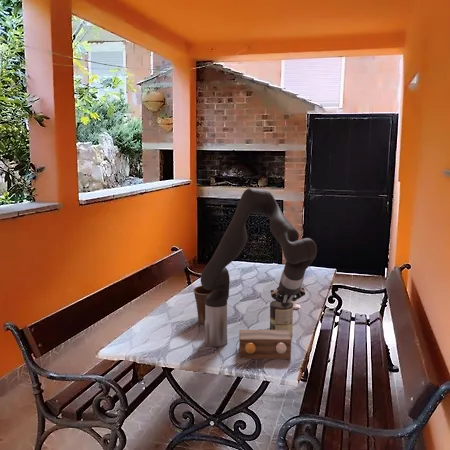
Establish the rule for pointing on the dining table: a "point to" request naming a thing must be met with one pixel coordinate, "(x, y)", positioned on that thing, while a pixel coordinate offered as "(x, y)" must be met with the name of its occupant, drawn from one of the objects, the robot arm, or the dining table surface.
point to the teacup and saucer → (295, 305)
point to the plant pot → (201, 302)
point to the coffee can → (281, 316)
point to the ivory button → (280, 347)
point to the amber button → (250, 347)
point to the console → (264, 344)
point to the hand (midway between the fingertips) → (284, 305)
